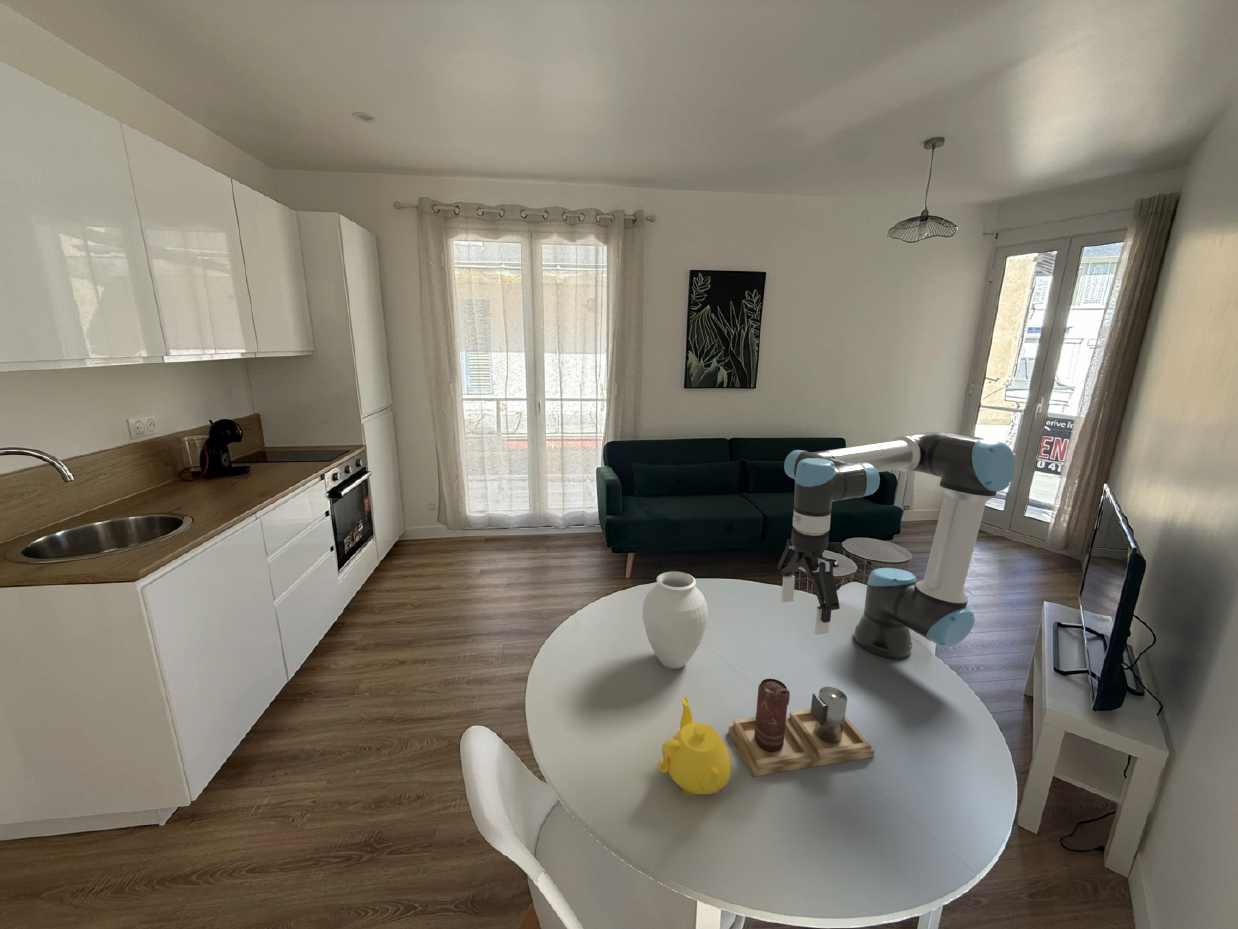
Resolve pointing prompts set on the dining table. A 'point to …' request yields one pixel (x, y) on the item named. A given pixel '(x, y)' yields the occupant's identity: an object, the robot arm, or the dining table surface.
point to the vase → (675, 618)
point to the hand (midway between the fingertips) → (803, 616)
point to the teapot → (696, 757)
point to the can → (771, 714)
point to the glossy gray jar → (829, 714)
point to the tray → (797, 745)
